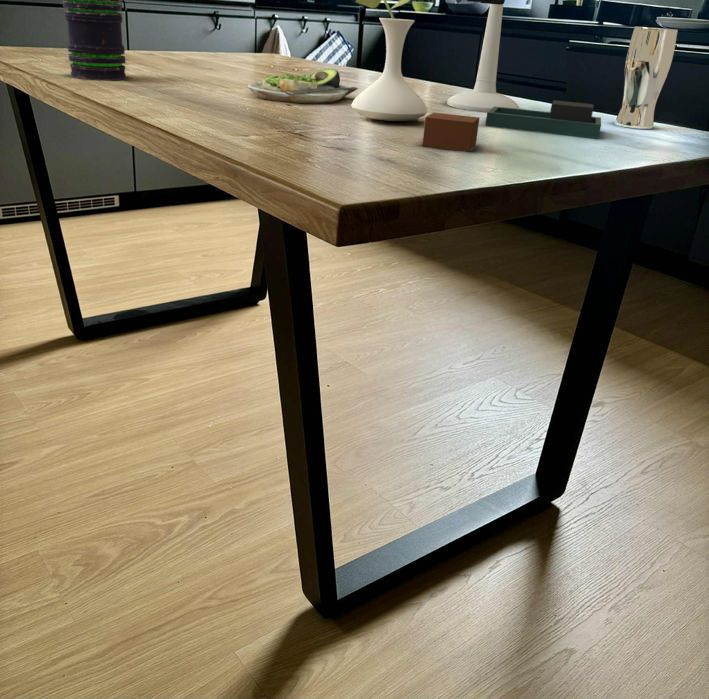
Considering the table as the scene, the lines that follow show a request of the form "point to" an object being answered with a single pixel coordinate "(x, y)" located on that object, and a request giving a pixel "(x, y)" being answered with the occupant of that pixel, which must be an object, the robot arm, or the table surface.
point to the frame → (541, 122)
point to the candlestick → (486, 71)
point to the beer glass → (645, 75)
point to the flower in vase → (390, 77)
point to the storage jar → (95, 39)
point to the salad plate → (302, 87)
